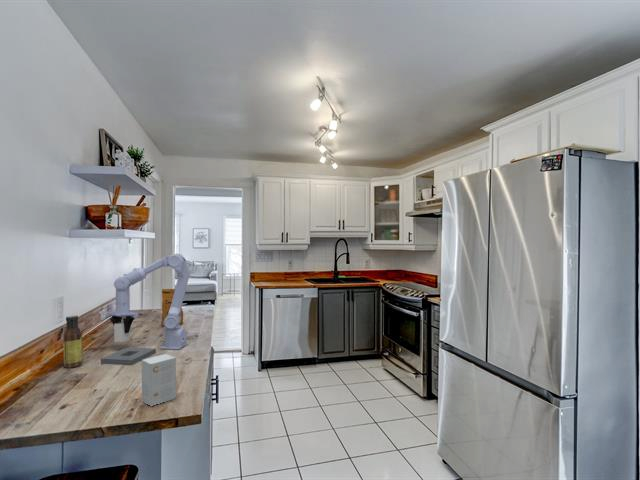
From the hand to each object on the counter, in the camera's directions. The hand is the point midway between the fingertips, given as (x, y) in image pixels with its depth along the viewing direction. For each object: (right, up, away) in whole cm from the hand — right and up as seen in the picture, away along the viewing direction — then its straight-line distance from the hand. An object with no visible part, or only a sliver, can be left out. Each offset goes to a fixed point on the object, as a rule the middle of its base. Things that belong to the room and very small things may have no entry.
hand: (122, 332), depth 164 cm
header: (+9, -8, -12) cm, 17 cm away
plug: (0, -3, 0) cm, 3 cm away
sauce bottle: (-8, -8, -21) cm, 24 cm away
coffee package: (+2, -9, +51) cm, 52 cm away
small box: (+41, -8, -53) cm, 67 cm away
